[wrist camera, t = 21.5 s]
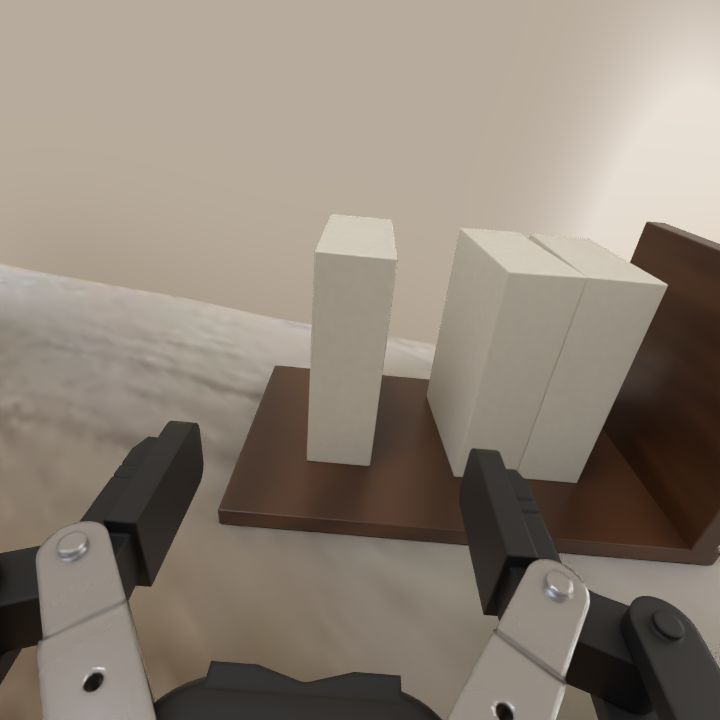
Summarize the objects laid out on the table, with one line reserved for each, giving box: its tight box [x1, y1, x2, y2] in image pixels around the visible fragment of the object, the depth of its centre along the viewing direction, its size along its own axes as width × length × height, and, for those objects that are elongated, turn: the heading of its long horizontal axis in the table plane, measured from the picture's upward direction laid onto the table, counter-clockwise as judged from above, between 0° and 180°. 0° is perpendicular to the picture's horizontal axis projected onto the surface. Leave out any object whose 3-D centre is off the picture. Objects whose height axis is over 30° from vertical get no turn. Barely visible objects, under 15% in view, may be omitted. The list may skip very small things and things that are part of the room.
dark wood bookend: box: [218, 222, 720, 565], centre depth 24 cm, size 25×14×14 cm, turn 88°
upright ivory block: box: [307, 214, 398, 466], centre depth 25 cm, size 4×8×12 cm, turn 178°
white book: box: [517, 233, 668, 483], centre depth 25 cm, size 4×8×12 cm, turn 178°
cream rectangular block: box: [427, 228, 587, 477], centre depth 25 cm, size 4×8×12 cm, turn 4°
